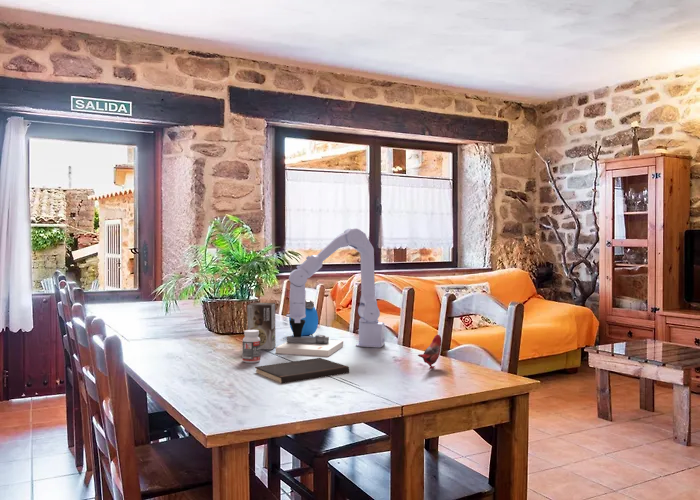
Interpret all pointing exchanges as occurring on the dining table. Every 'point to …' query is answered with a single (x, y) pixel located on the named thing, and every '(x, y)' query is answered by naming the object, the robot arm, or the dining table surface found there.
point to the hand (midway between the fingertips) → (297, 340)
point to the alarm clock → (309, 319)
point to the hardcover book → (301, 370)
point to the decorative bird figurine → (432, 352)
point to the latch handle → (308, 339)
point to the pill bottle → (251, 346)
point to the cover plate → (310, 348)
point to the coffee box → (263, 323)
